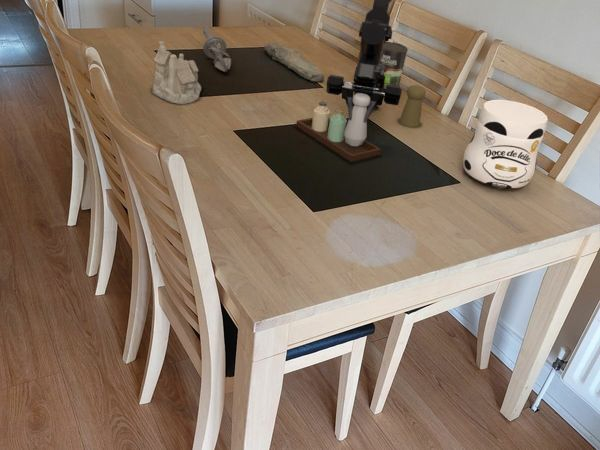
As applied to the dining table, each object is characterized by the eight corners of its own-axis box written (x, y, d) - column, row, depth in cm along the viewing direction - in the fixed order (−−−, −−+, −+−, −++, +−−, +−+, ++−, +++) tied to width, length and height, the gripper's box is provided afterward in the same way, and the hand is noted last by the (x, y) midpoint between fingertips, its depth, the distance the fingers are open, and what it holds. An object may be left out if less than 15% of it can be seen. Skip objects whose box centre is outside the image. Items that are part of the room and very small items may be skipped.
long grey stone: (304, 87, 194) (329, 86, 199) (307, 72, 191) (333, 71, 196) (256, 48, 217) (279, 48, 222) (258, 34, 214) (281, 34, 220)
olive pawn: (421, 122, 177) (430, 86, 171) (416, 128, 172) (425, 92, 167) (402, 116, 179) (410, 81, 173) (396, 123, 174) (404, 87, 168)
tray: (324, 122, 169) (325, 115, 168) (379, 156, 154) (381, 149, 153) (295, 127, 163) (296, 120, 162) (350, 163, 148) (351, 156, 147)
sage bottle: (336, 134, 161) (340, 106, 157) (346, 140, 158) (351, 112, 154) (323, 136, 159) (328, 108, 154) (334, 143, 156) (338, 114, 152)
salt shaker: (369, 143, 154) (378, 96, 147) (356, 149, 150) (365, 101, 143) (351, 135, 157) (359, 88, 150) (338, 141, 153) (346, 93, 146)
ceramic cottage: (171, 105, 166) (173, 51, 159) (142, 88, 176) (143, 36, 169) (218, 100, 175) (222, 48, 168) (188, 84, 186) (190, 34, 178)
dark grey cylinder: (394, 96, 193) (403, 53, 186) (364, 89, 196) (372, 46, 189) (402, 87, 202) (411, 46, 194) (373, 80, 204) (380, 39, 197)
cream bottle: (320, 124, 166) (324, 99, 162) (330, 130, 163) (334, 104, 159) (308, 126, 163) (311, 101, 159) (317, 132, 160) (321, 107, 156)
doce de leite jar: (491, 200, 141) (515, 130, 131) (445, 166, 153) (463, 100, 143) (543, 190, 148) (569, 123, 138) (495, 159, 161) (515, 95, 151)
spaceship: (218, 21, 215) (198, 13, 211) (243, 63, 190) (221, 54, 186) (209, 41, 219) (189, 33, 214) (232, 84, 194) (210, 76, 189)
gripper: (332, 42, 145) (320, 101, 142) (409, 55, 143) (398, 114, 140) (332, 64, 156) (320, 119, 152) (403, 76, 154) (393, 132, 151)
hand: (357, 121), depth 149 cm, fingers closed on salt shaker, 3 cm apart
